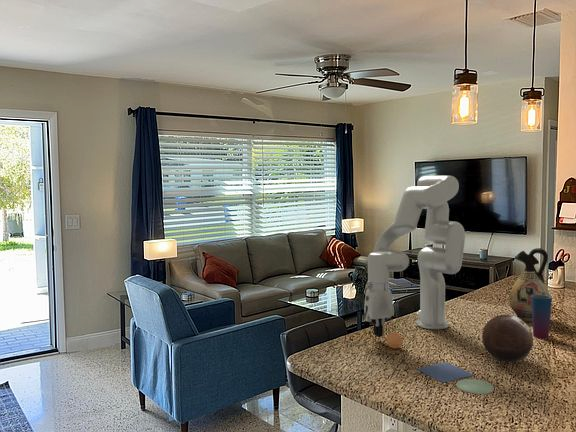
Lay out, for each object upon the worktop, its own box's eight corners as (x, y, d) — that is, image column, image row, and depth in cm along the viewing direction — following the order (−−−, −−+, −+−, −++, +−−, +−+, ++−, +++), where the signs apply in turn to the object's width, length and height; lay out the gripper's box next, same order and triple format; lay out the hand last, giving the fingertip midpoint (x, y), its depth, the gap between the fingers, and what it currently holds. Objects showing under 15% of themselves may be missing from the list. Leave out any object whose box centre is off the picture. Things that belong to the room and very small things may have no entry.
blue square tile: (416, 369, 158) (416, 368, 158) (446, 362, 163) (446, 362, 163) (443, 383, 147) (443, 382, 147) (474, 375, 152) (474, 374, 152)
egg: (383, 347, 179) (383, 331, 178) (396, 344, 181) (396, 329, 181) (393, 351, 174) (393, 335, 173) (406, 349, 176) (406, 333, 175)
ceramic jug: (509, 322, 205) (510, 249, 203) (508, 313, 219) (509, 244, 217) (556, 326, 199) (558, 251, 197) (552, 316, 213) (554, 245, 211)
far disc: (448, 383, 146) (448, 382, 146) (474, 377, 150) (474, 376, 150) (474, 396, 137) (474, 396, 137) (501, 389, 141) (501, 388, 141)
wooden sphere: (535, 372, 153) (536, 323, 152) (482, 366, 159) (482, 319, 157) (530, 355, 167) (530, 311, 166) (481, 351, 173) (482, 308, 172)
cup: (553, 339, 183) (554, 299, 182) (533, 338, 184) (534, 298, 183) (547, 334, 190) (548, 294, 188) (528, 333, 191) (529, 294, 190)
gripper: (366, 290, 178) (366, 341, 179) (401, 286, 184) (401, 335, 185) (355, 286, 184) (355, 335, 186) (388, 282, 191) (388, 330, 192)
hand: (378, 335), depth 186 cm, fingers closed
